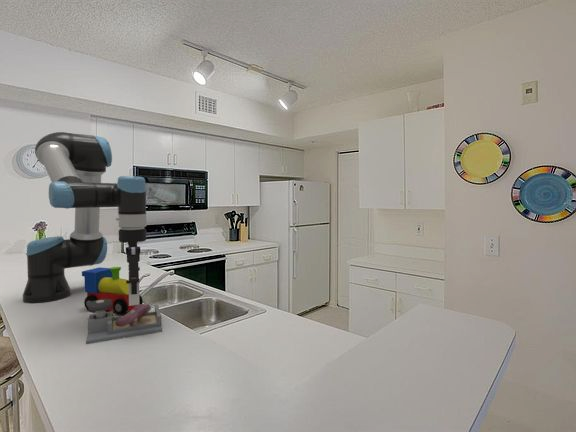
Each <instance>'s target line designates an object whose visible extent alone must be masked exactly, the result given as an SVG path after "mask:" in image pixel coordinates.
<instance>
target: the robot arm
mask: <svg viewBox="0 0 576 432" xmlns="http://www.w3.org/2000/svg"><path fill="white" fill-rule="evenodd" d="M111 148H112V147H111V145H110V143H109V141H108V140H107V138H105V137H103V136H102V137H101V136H97V135H92V134H80V133H71V132H66V131H65V132H64V131H61V132H60V131H59V132H58V131H56V132H52V133H50V134H47V135H46V134H45V136H43V137H41V138H40V139H39V140H38V141H37V143H36V144H35V148H34V153H35V157H36V159H37V161H38V162H39V163H40V164H42V165H43V166H44V168H45V170H46V172H47V174H48V177H49V178H50V181H51V182H50V184H49V185H48V199H49V204H50V206H51V207H53V208H55V209H57V208H58V209H66V210H67V209H75V210H74V211H75V212H74V230H73V231H72V232H71V233H70V234H69V238H68V239H65V238H64V237H63V236H58V235H57V236H51V237H50V236H49V237H43V238H39V239H35V240H32V241H29V242H28V244H27V245H26V254H25V255H26V260H27V261H26V264H27V281H26V285H25V288H24V290H23V293H22V301H23V302H24V303H29V304H30V303H31V304H32V303H34V304H35V303H45V302H46V303H47V302H52V301H58V300H62V299H64V298H68V297H69V296H70V295H71V286H70V285H69V283H68V281H67V278H66V274H65V269H72V268H79V267H88V266H89V267H91V266H95V265H100V264H102V263H103V262H104V261H105V260H106V258H107V257H106V256H107V253H108V241H107V239H106V237H104V234H103V233H102V232H101V231H100V230H99V229H100V212H101V210H100V209H101V208H117V209H118V211H117V213H118V217H116V218H115V220H116V221H118V227H119V228H120V229H119V230H118V242H119V243H127V245H128V246H126V247H125V255H126V263H128V279H126V284H128V283H129V306H132V305H140V304H139V295H140V275H139V274H140V273H139V272H140V271H141V269H140V268H141V267H139V262H140V261H141V259H140V258H141V257H140V256H141V255H140V254H141V246H138V243H142V242H145V241H147V229H146V227H147V192H146V191H147V186H146V179H145V178H144V177H143V176H138V175H137V176H135V175H133V176H132V175H126V176H125V175H121V176H118V178H117V183H116V182H115V183H114V182H113V183H112V182H111V183H110V182H102V175H103V174H105V173H106V172H107V168H109V167H111V166H112V163H113V154H112V149H111Z"/></svg>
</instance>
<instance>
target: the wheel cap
mask: <svg viewBox="0 0 576 432" xmlns="http://www.w3.org/2000/svg"><path fill="white" fill-rule="evenodd" d="M111 307H112V300H110V299H100V300H95V301H91V302H89V303H88V310H90V311H89V312H92V311H93V312H95V314H96V318H103V317H105V312H106V311H107V310H106V309H109V308H111ZM88 310H87V311H88Z"/></svg>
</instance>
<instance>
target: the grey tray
mask: <svg viewBox="0 0 576 432" xmlns="http://www.w3.org/2000/svg"><path fill="white" fill-rule="evenodd" d="M160 311H161V309H160V307H159V304H155V305H154V311H149V312H148V313H147V314H146V315H144V316H143V317H142V319H141V320H139V321H136V322H135V323H134V324H133V325H130V324H128V325H125V326H122V327H119V326H116V320H117V319H119V318H121V317H123V316H124V315H118V316H114V311H113V310H109V311H105V317H103V318H96V313H90V314H89V316H88V318H87V336H86V340H85V344H86V345H88V344H95V343H100V342H107V341H113V340H117V338H119V339H124V338H123V337H125V338H131V337H136V336H141V335H142V336H143V335H148V334H155V333H161V332H163V327H162V314H161V312H160ZM112 339H113V340H112Z"/></svg>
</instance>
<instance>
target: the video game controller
mask: <svg viewBox="0 0 576 432" xmlns="http://www.w3.org/2000/svg"><path fill="white" fill-rule="evenodd" d="M151 309H152V306H150V304H148V303H146V302H143V304H140V305H137V306H135V307H134V309H132V310H130V311H128V312H127V313H126V314H124V315H122V316H123V317H121V318H119V319H117V320H116V326H119V327H122V326H125V325H128V324H130V325H133V324H134V323H135V322H136V321H139V320H141V319H142V317H143V316H144V315H146V314H147V313H148V312H151Z"/></svg>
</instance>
